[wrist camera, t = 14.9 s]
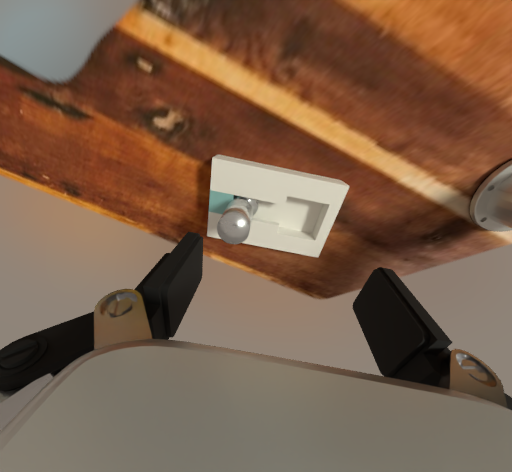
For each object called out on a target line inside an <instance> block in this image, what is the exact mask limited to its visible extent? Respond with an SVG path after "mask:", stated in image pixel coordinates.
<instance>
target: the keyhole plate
mask: <svg viewBox="0 0 512 472" xmlns="http://www.w3.org/2000/svg"><path fill="white" fill-rule="evenodd" d="M349 187H350V186H348V185H347V184H346V183H344V182H343V181H342V180H338V179H333V178H328V177H323V176H319V175H314V174H309V173H304V172H299V171H295V170H290V169H285V168H280V167H276V166H271V165H266V164H261V163H257V162H252V161H247V160H242V159H238V158H233V157H228V156H223V155H219V154H218V155H216V156H214V157H213V158H212V170H211V185H210V200H209V215H208V230H207V236H208V237H214V238H219V239H221V238H220V237H219V235H218V233H217V224H218V222H219V220H220V218H221V216H222V215H223V213H224V211H225V209H226V208H227V206H228V204H229V203H230V202H231V201H233V200H234V195H237V196H242V197H247V198H252V199H257V200H259V205H258V210H257V212H256V213H255V214H254V215H253V217H252V221H251V226H250V231H249V235H248V237H247V239H246V240H245V241H244V242H242V243H245V244H250V245H255V246H260V247H266V248H271V249H276V250H281V251H286V252H292V253H297V254H302V255H307V256H313V257H319V255H320V252H321V250H322V248H323V246H324V243H325V241H326V239H327V237H328V234H329V232H330V230H331V227H332V225H333V223H334V221H335V218H336V216H337V214H338V212H339V209H340V207H341V205H342V202H343V200H344V198H345V196H346V193H347V191H348V189H349Z"/></svg>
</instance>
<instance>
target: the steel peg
mask: <svg viewBox="0 0 512 472" xmlns="http://www.w3.org/2000/svg"><path fill="white" fill-rule="evenodd" d="M258 205H259V200H257V199H252V198H247V197H242V196H237V195H234V200H233V201H231V202H230V203H229V204H228V206H227V208H226V209H225V211H224V213H223V215H222V216H221V218H220V220H219V222H218V224H217V233H218V235H219V237H220V238H221V239H222V240H223V241H225V242H227V243H230V244H239V243H242V242H244V241H245V240H246V239H247V237H248V235H249V231H250V226H251V221H252V217H253V215H254V214H255V213H256V212H257V210H258Z"/></svg>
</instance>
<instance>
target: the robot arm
mask: <svg viewBox="0 0 512 472" xmlns="http://www.w3.org/2000/svg"><path fill="white" fill-rule="evenodd" d="M470 215H471V218H472V220H473V221H474V222H475V224H477V225H478V226H480V227H482V228H485V229H487V230H490V231H510V230H512V160H511V161H509V162H507V163H506V164H504V165H502V166H501V167H500V168H498V169H497V170H496V171H494V172H493V173H492V174H491V175H490V176H489V177H488V178H487V179H485V181H484V182H483V183H482V184H481V185H480V187H479V188H478V189H477V191H476V193H475V194H474V196H473V199H472V201H471V205H470ZM202 261H203V237H200V234H198V233H193V232H188V233H187V234H186V235H185V236H184V237H183V239H182V240H181V241H180V242H179V243H178V245H177V246H176V247H175V248H174V249H173V251H172V252H171V253H166V254H165V255H164V256H163V257H162V259H160V261H159V262H158V263H157V264H156V265H155V267H154V268H153V269H152V270H151V271H150V272H149V273H148V275H147V276H146V277H145V278H144V279H143V280H142V282H141V283H140V284H139V285H138V286H137V287H136V288H135V290H133V289H122V290H117V291H114V292H112V293H110V294H108V295H106V296H105V297H103V298H102V299H101V300H100V301H99V302H98V303H97V305H96V306H95V310H94V312H92V313H89V314H86V315H83V316H80V317H78V318H75V319H72V320H70V321H67V322H64V323H61V324H59V325H55V326H53V327H50V328H47V329H44V330H42V331H39V332H36V333H34V334H31V335H28V336H25V337H23V338H21V339H18V340H16V341H14V342H12V343H10V344H9V345H7V346H5V347H4V348H2V349H1V350H0V472H512V398H511V397H510V396H508V395H507V394H505V393H504V389H503V385H502V383H501V380H500V379H499V378H498V376H497V375H496V373H495V372H494V371H493V370H492V369H491V368H490V367H489V366H487V365H486V364H485V363H484V362H483V361H482V360H480V359H478V358H477V357H475V356H474V355H472V354H470V353H469V352H466V351H463V350H460V349H454V350H452V351H450V350H449V349H448V348H447V347H448V346H449V345H450V344H451V343H452V341H451V340H450V339H449V338H448V337H447V335H445V333H444V332H443V331H442V329H441V328H440V327H439V326H438V325H437V323H436V322H435V321H434V320H433V319H432V317H431V316H430V315H429V314H428V312H427V311H426V310H425V309H424V308H423V306H422V305H421V304H420V303H419V302H418V300H416V298H415V297H414V296H413V294H412V293H411V292H410V291H409V289H408V288H407V287H406V286H405V285H404V283H403V282H402V281H401V280H400V278H399V277H398V276H397V275H396V274H395V272H394V271H393V270H391V269H387V268H381V267H379V268H377V269H375V270H374V271H373V272H372V274H371V275H370V277H369V278H368V280H367V282H366V283H365V285H364V286H363V288H362V290H361V291H360V293H359V295H358V296H357V298H356V299H355V301H354V303H353V310H354V312H355V314H356V317H357V319H358V321H359V324H360V326H361V328H362V331H363V333H364V335H365V338H366V340H367V342H368V345H369V347H370V349H371V351H372V354H373V356H374V359H375V361H376V363H377V366H378V368H379V370H380V372H381V374H382V375H384V377H383V376H378V375H373V374H367V373H362V372H357V371H351V370H345V369H340V368H334V367H329V366H323V365H318V364H313V363H307V362H302V361H296V360H291V359H285V358H279V357H274V356H268V355H262V354H257V353H251V352H245V351H240V350H234V349H228V348H222V347H216V346H210V345H203V344H197V343H191V342H184V341H175V340H168V339H169V337H173V336H174V335H175V333H176V331H177V329H178V327H179V325H180V323H181V321H182V319H183V316H184V314H185V312H186V310H187V308H188V306H189V304H190V302H191V300H192V298H193V296H194V293H195V292H196V289H197V287H198V285H199V283H200V281H201V278H202Z"/></svg>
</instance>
